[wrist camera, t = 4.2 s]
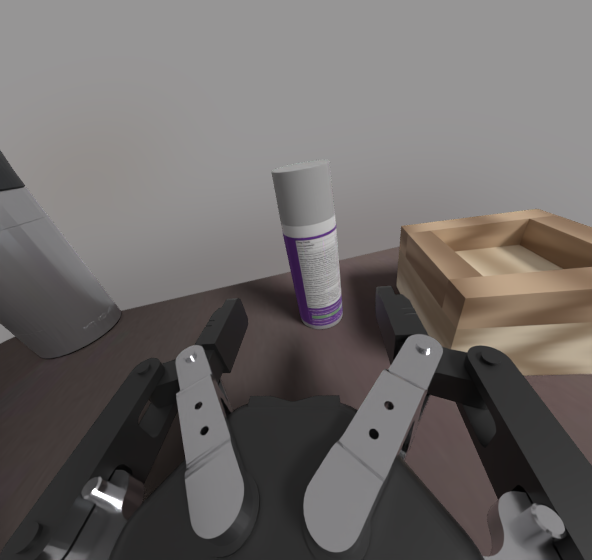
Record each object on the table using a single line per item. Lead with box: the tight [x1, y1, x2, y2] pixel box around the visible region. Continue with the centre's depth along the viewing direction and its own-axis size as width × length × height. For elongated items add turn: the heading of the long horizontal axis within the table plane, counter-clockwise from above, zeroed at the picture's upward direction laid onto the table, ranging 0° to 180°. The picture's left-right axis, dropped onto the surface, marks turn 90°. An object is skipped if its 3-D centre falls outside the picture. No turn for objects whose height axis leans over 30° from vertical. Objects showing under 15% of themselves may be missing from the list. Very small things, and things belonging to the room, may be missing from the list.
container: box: [272, 160, 343, 329], centre depth 21 cm, size 5×5×15 cm
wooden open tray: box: [396, 209, 592, 375], centre depth 19 cm, size 12×12×8 cm
